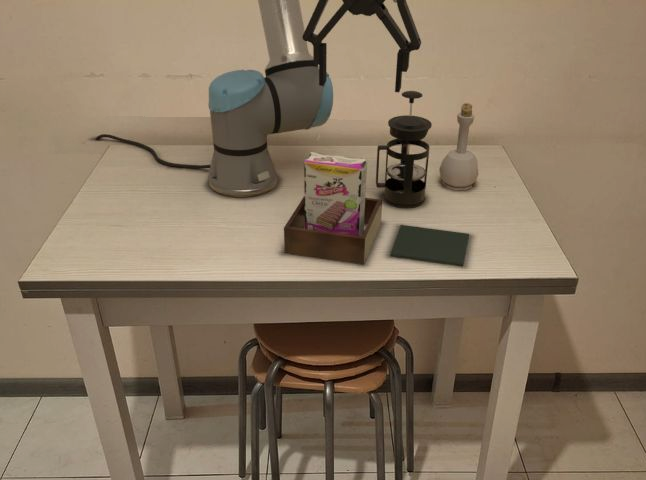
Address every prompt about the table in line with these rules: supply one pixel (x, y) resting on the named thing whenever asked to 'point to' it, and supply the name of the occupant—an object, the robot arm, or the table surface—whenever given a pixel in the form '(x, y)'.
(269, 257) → the table surface
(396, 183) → the french press
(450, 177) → the potion bottle
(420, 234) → the mat
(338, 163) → the candy bar box
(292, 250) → the crate
